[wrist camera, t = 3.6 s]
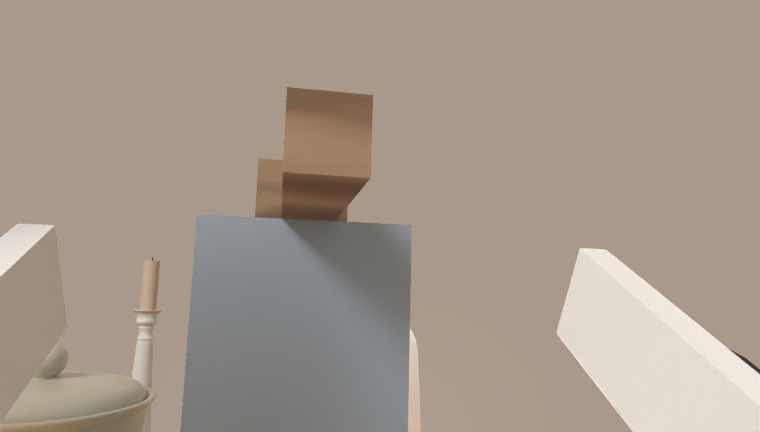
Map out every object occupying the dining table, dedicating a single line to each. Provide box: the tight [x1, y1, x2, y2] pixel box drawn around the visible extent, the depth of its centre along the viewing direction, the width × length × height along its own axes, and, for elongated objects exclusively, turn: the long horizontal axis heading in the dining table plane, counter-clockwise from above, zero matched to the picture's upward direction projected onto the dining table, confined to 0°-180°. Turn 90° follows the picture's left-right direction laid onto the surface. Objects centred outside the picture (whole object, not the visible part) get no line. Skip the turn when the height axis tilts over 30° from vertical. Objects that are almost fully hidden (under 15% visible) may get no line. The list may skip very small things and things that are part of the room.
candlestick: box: [132, 258, 162, 432], centre depth 71 cm, size 13×13×30 cm
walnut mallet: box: [255, 87, 373, 222], centre depth 33 cm, size 30×7×6 cm, turn 11°
